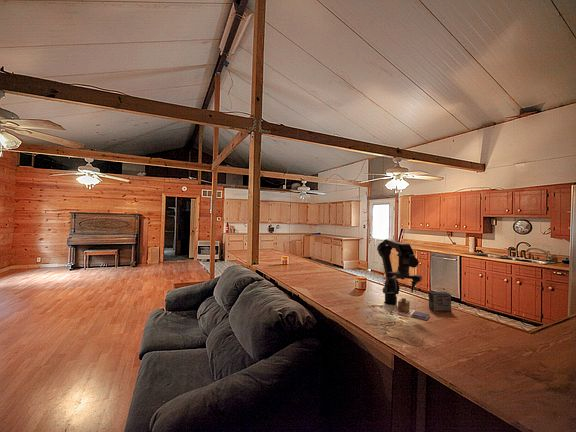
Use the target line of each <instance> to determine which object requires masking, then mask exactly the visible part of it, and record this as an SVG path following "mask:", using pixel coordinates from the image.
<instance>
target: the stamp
mask: <svg viewBox="0 0 576 432" xmlns="http://www.w3.org/2000/svg"><path fill="white" fill-rule="evenodd" d="M397 307H398V311H399V312H403V313H408V312H409V309H410V300H407V298H405V297H401V298H400V299H399V300H397Z"/></svg>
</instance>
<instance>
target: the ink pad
mask: <svg viewBox="0 0 576 432" xmlns="http://www.w3.org/2000/svg"><path fill="white" fill-rule="evenodd" d="M410 317H411V318H414V319H419V320H422V321H428V319H429V318H430V317H431V315H430V313H427V312H421V311H417V310H416V311H414V312H413V313H412V314H411V316H410Z"/></svg>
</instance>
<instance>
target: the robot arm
mask: <svg viewBox="0 0 576 432" xmlns="http://www.w3.org/2000/svg"><path fill="white" fill-rule="evenodd" d="M393 249H395V251H396V252H397V255H396V256H397V257H398V266H397V270H395V271H393V266H392V263H391V262H392V261H391V257H390V256H391V255H392V254H391V253H392V250H393ZM376 250H377V253H378V255H379V256H380V257H381V258H382V263H383V269H384V275H385V281H384V286H383V288H382V293H383V294H384V301H383V303H384V304H387V305H391V306H392V305H393V306H394V305H396V304H398V296H397V295H399V293H400V289H401V288H400V284H399V280H405V279H410V280H412V281H411V293H414V290H415V288H416V285H417V284H418V283H420V282H421V281H423V276H422V275H421V274H413V275H411V274H410V268H413V269H414V268H416V267H418V266H419V260H418V258H417V257H416V255H415V253H414V250H413V247H412V246H411V244H410V243H406V242H405V243H404V242H403V243H401V242H400V241H399V242H398V241H397V240H395V239H393V238H385V239H383V241H382V242H380V243H379V244H378V245H377V249H376ZM398 279H399V280H398Z"/></svg>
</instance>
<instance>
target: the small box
mask: <svg viewBox="0 0 576 432" xmlns="http://www.w3.org/2000/svg"><path fill="white" fill-rule="evenodd" d="M428 309H430V310H431V311H432V312H437V311H438V312H437V313H439V312H441V313H452V294H451V293H448V292H447V291H428Z"/></svg>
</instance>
